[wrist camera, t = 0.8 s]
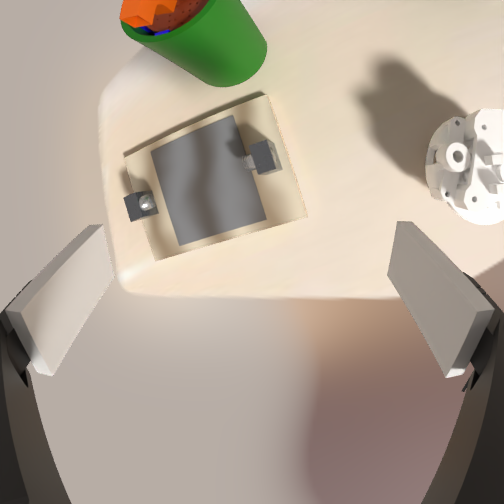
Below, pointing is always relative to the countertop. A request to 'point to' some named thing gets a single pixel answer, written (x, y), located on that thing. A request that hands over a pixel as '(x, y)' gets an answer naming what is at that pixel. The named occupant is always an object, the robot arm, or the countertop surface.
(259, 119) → the mount plate
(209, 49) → the green plastic cylinder
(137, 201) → the knobbed dark grey block
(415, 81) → the countertop surface
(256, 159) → the grey block with stub
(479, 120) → the mechanical part
